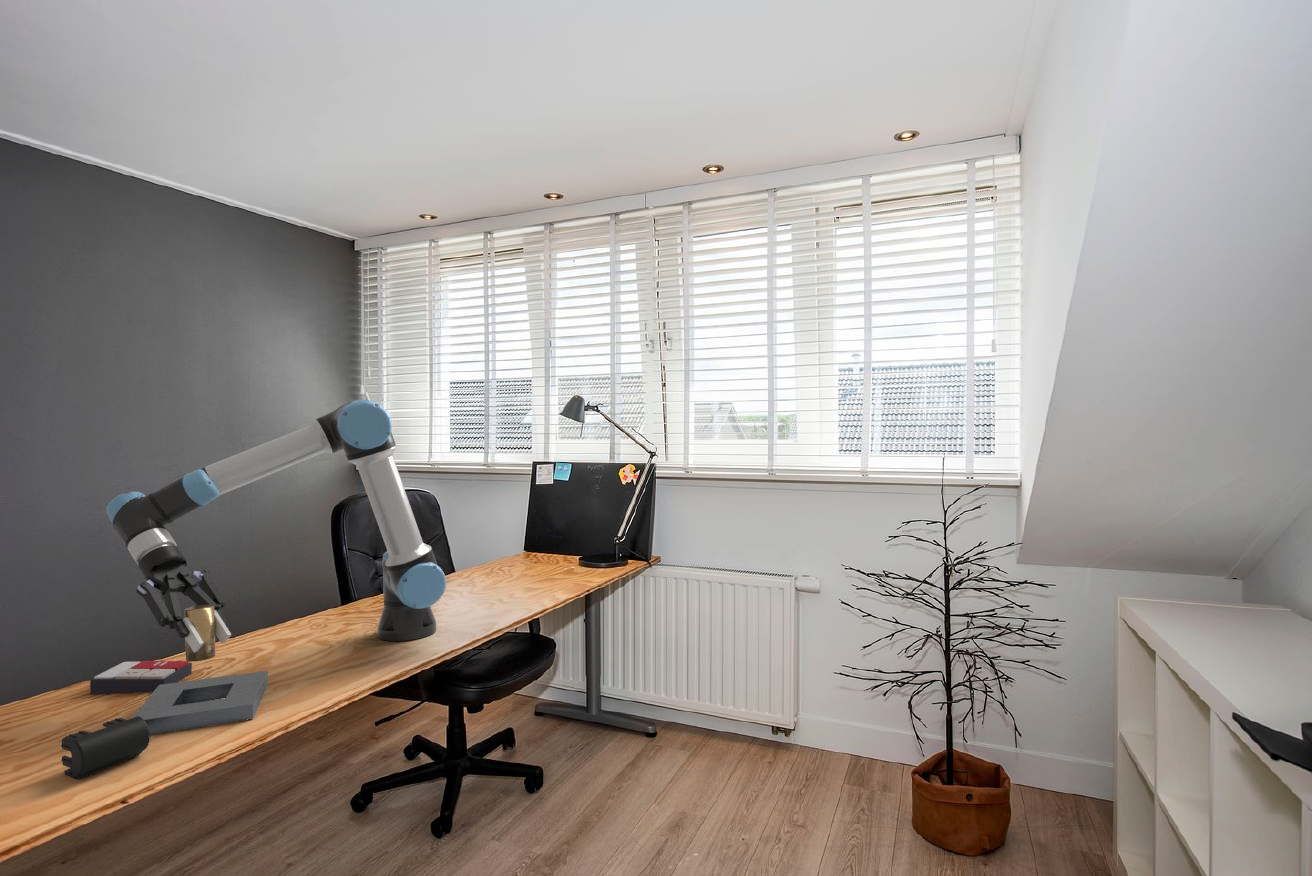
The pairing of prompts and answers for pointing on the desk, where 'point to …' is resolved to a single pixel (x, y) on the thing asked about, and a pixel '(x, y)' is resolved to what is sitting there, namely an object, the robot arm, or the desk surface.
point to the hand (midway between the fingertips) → (212, 643)
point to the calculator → (139, 676)
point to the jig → (203, 702)
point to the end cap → (104, 746)
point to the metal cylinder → (202, 631)
